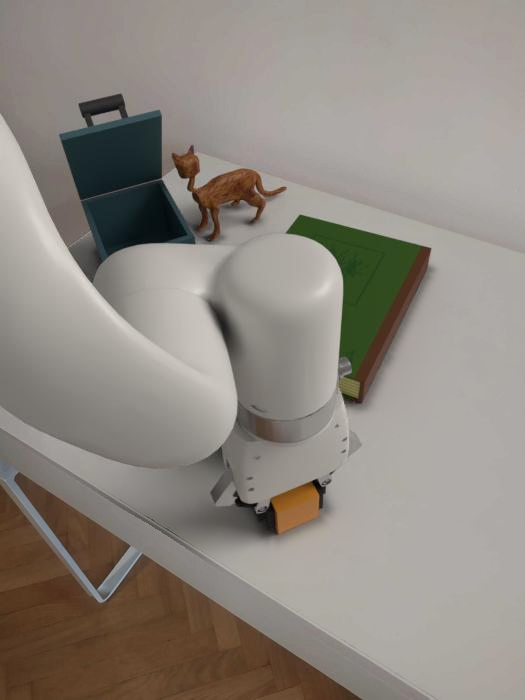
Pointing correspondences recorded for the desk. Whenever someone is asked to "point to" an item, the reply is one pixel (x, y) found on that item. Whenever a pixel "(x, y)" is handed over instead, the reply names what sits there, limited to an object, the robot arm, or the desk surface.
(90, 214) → the box
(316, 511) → the cheese block
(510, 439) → the desk surface
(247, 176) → the cat figurine
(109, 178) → the lid
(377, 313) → the book
